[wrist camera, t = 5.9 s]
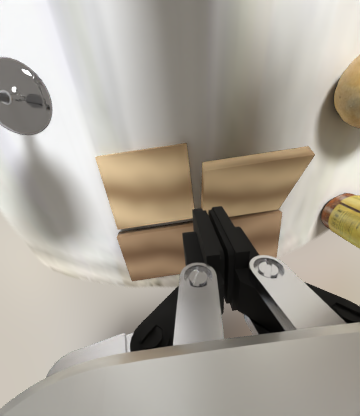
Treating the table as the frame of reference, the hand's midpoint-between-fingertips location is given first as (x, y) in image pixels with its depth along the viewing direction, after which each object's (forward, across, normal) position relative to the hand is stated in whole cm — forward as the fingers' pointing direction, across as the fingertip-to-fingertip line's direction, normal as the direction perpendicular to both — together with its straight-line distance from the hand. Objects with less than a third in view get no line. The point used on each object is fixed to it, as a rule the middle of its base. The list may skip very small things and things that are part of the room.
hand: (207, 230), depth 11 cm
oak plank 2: (+12, -7, +3) cm, 15 cm away
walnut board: (+15, -2, +13) cm, 20 cm away
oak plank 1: (+15, +5, +2) cm, 16 cm away
